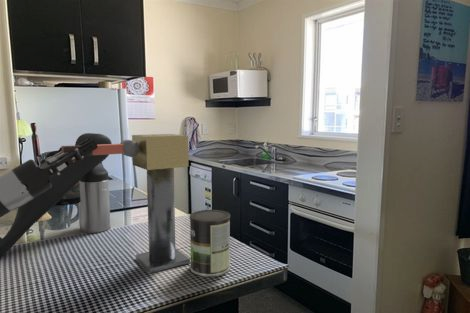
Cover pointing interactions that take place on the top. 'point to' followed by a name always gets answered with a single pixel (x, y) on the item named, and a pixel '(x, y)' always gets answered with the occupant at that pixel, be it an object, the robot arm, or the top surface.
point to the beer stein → (73, 193)
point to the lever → (111, 149)
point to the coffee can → (210, 242)
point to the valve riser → (161, 197)
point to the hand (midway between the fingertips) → (93, 142)
